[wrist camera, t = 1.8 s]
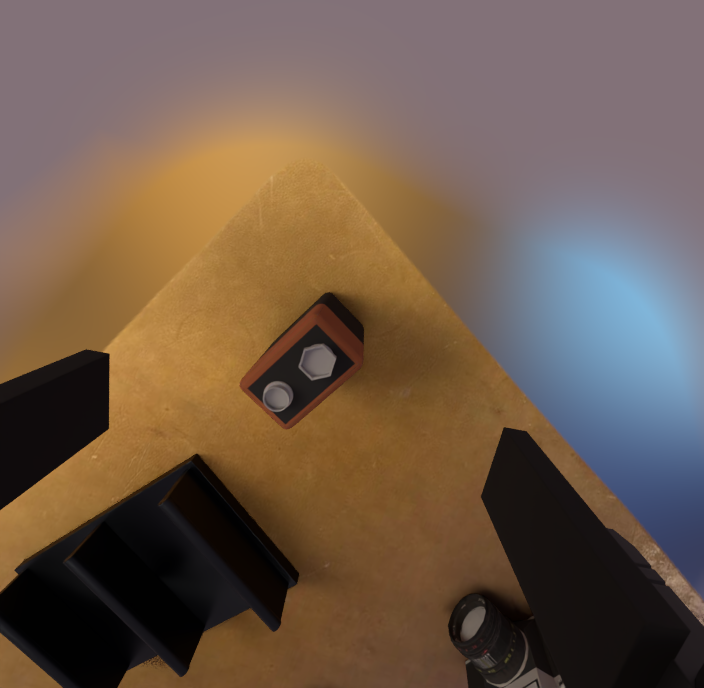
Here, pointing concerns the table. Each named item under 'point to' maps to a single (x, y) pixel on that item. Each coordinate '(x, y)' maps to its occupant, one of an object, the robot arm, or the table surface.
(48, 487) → the table surface
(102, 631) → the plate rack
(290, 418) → the battery
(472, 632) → the camera
